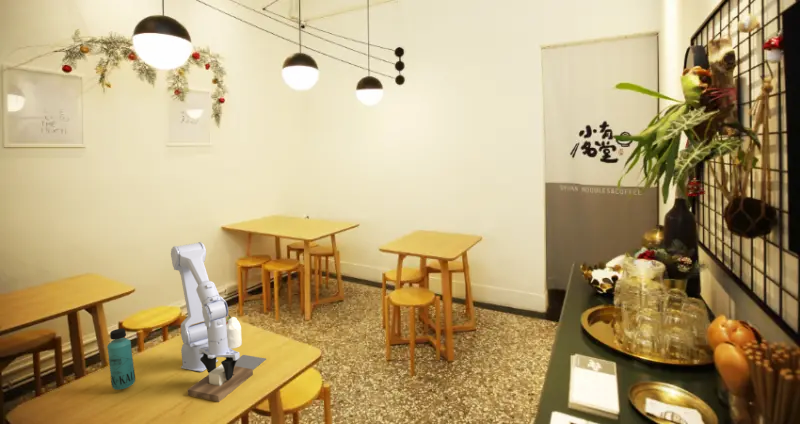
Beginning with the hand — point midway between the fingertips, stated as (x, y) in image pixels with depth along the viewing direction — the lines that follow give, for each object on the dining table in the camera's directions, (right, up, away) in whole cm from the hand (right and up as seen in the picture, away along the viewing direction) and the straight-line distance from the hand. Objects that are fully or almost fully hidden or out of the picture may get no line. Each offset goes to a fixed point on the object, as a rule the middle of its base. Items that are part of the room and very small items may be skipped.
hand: (221, 376), depth 134 cm
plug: (0, -3, 0) cm, 3 cm away
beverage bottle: (-31, -4, -1) cm, 31 cm away
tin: (-16, +2, +35) cm, 38 cm away
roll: (-7, +1, +28) cm, 28 cm away
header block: (0, -3, 0) cm, 3 cm away
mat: (+3, -1, +14) cm, 14 cm away
